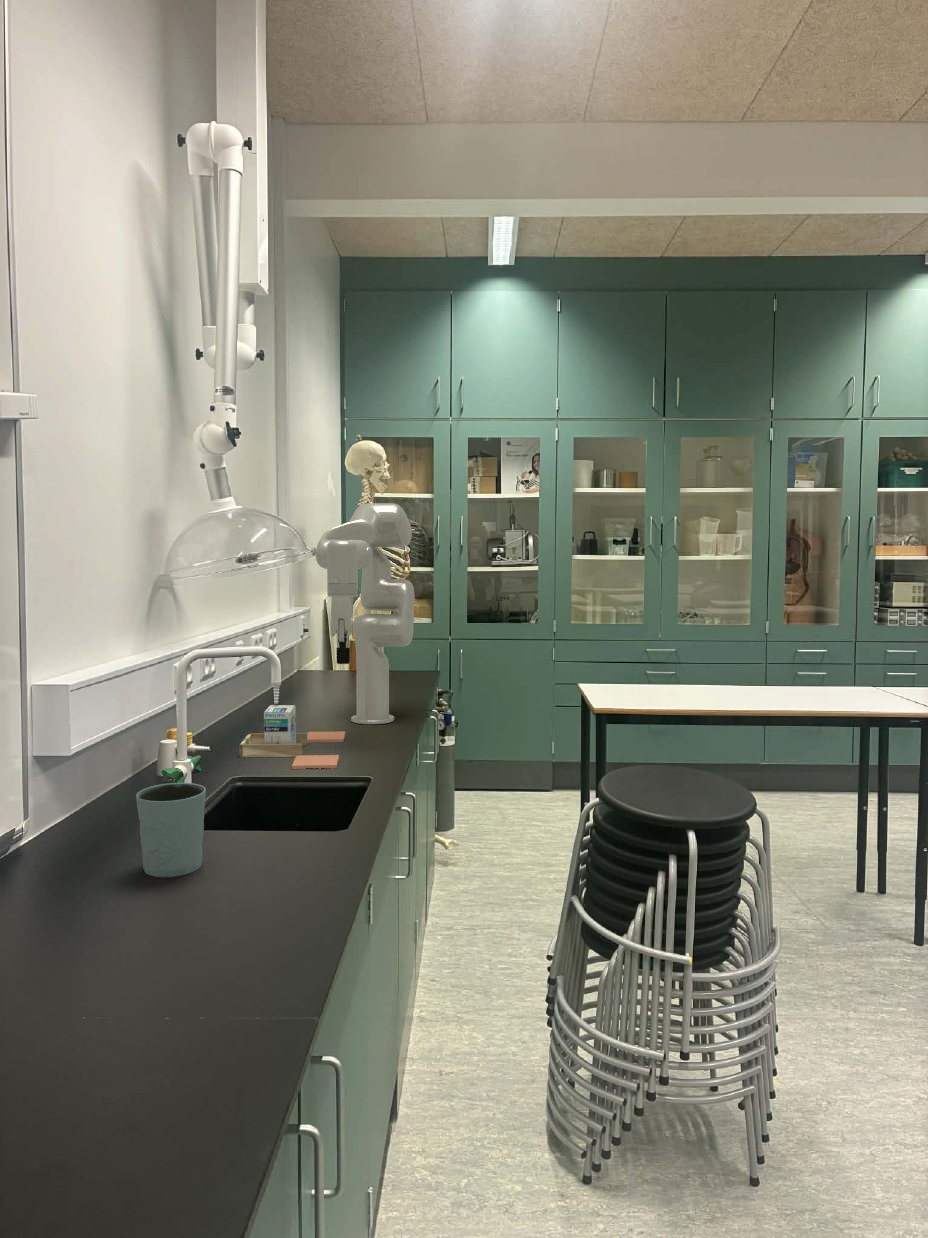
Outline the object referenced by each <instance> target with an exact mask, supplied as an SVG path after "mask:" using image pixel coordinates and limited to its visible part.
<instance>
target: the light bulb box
mask: <svg viewBox="0 0 928 1238" xmlns="http://www.w3.org/2000/svg"><path fill="white" fill-rule="evenodd" d="M296 707H297V706H296V705H294V704H293V705H289V704H286V705H285V704H283V705H281V704H279V705H277V704H270V705H269V706H268V707H267V708H266V709H265V711H264V712H263V727H264V728H263V733H264V744H296V733H297V709H296Z"/></svg>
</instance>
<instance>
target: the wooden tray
mask: <svg viewBox="0 0 928 1238" xmlns="http://www.w3.org/2000/svg"><path fill="white" fill-rule="evenodd" d="M307 733H308V732H296V744H264V732H263V733H262V732H261V733H248V734H247V735H246V736H245V738H243V739H242V741H241V743H240V744H239V745H238V746H239V748H238V749H239V751H238V752H239V757H238V758H242V759H243V758H296V756H300V755H303V746H308V744H309V743H307Z"/></svg>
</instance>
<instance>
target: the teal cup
mask: <svg viewBox="0 0 928 1238" xmlns="http://www.w3.org/2000/svg"><path fill="white" fill-rule="evenodd" d="M206 793H207V790H206V787H205V786H203V785H201V784H198V783H193V782H167V783H162V784H155V785H151V786H149V787H146V788H143V789H141V790H140V791H138V792H137V793H136V795H135V800H136V807H137V812H138V820H139V836H140V844H141V856H142V868H143V871H144V873H145V874H146V875H148V876H151V877H155V878H175V877H181V876H185V875H187V874H191V873H193V872H195V871H198V870H199V869H200V868H201V867H202V864H203V846H202V845H203V843H204V841H203V840H204V829H205V823H204V820H205V806H206V796H207V795H206Z"/></svg>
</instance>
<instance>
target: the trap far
mask: <svg viewBox="0 0 928 1238" xmlns="http://www.w3.org/2000/svg"><path fill="white" fill-rule="evenodd" d="M306 733H307V743H308V744H309V743H311V744H313V743H344V741H345V737H346V731H345V730H344V731H342V730H341V731H339V730H338V731H307V732H306Z"/></svg>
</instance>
